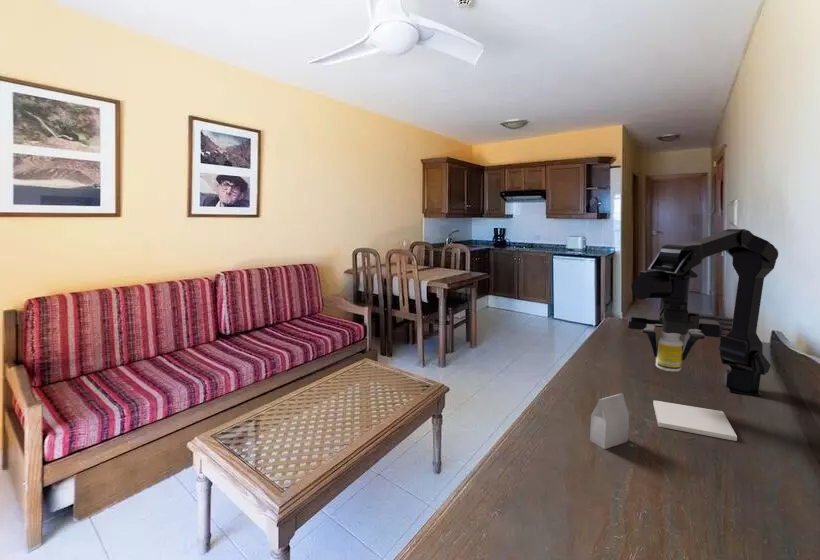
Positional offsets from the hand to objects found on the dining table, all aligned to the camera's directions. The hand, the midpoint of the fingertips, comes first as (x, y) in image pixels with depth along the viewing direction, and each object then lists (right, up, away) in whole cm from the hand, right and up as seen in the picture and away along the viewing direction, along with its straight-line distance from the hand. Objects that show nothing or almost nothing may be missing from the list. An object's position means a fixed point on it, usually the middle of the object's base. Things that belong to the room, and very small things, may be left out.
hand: (669, 358), depth 97 cm
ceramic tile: (+1, -13, -7) cm, 15 cm away
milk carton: (-22, -15, -14) cm, 30 cm away
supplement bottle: (0, -3, 0) cm, 3 cm away
